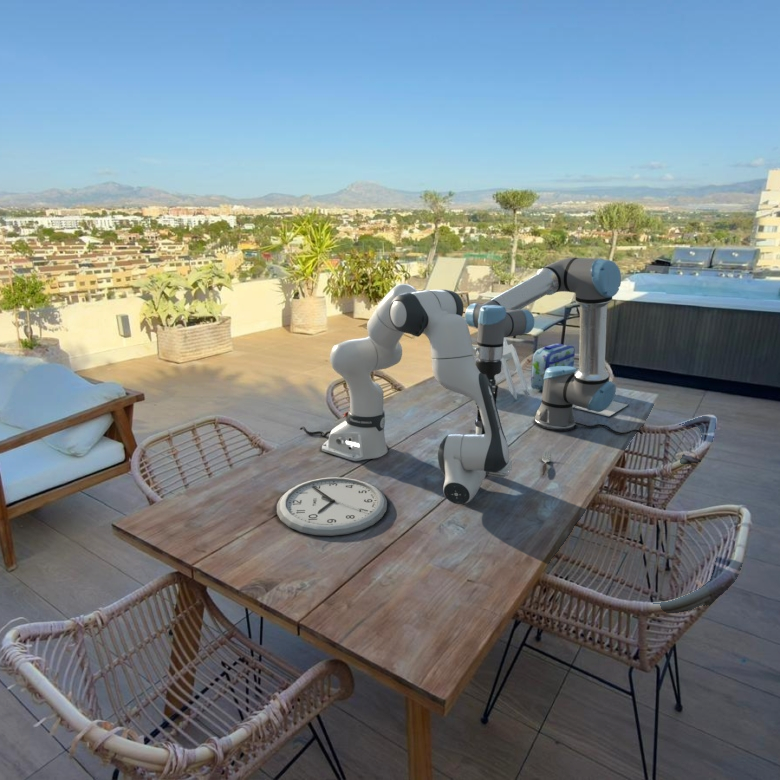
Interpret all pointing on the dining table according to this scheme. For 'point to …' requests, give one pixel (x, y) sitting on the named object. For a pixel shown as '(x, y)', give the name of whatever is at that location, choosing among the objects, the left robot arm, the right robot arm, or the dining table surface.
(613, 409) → the invitation card
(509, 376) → the white plastic object
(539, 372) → the lunch box
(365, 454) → the left robot arm
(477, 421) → the lid
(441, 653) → the dining table surface
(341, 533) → the wall clock
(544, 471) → the fork
